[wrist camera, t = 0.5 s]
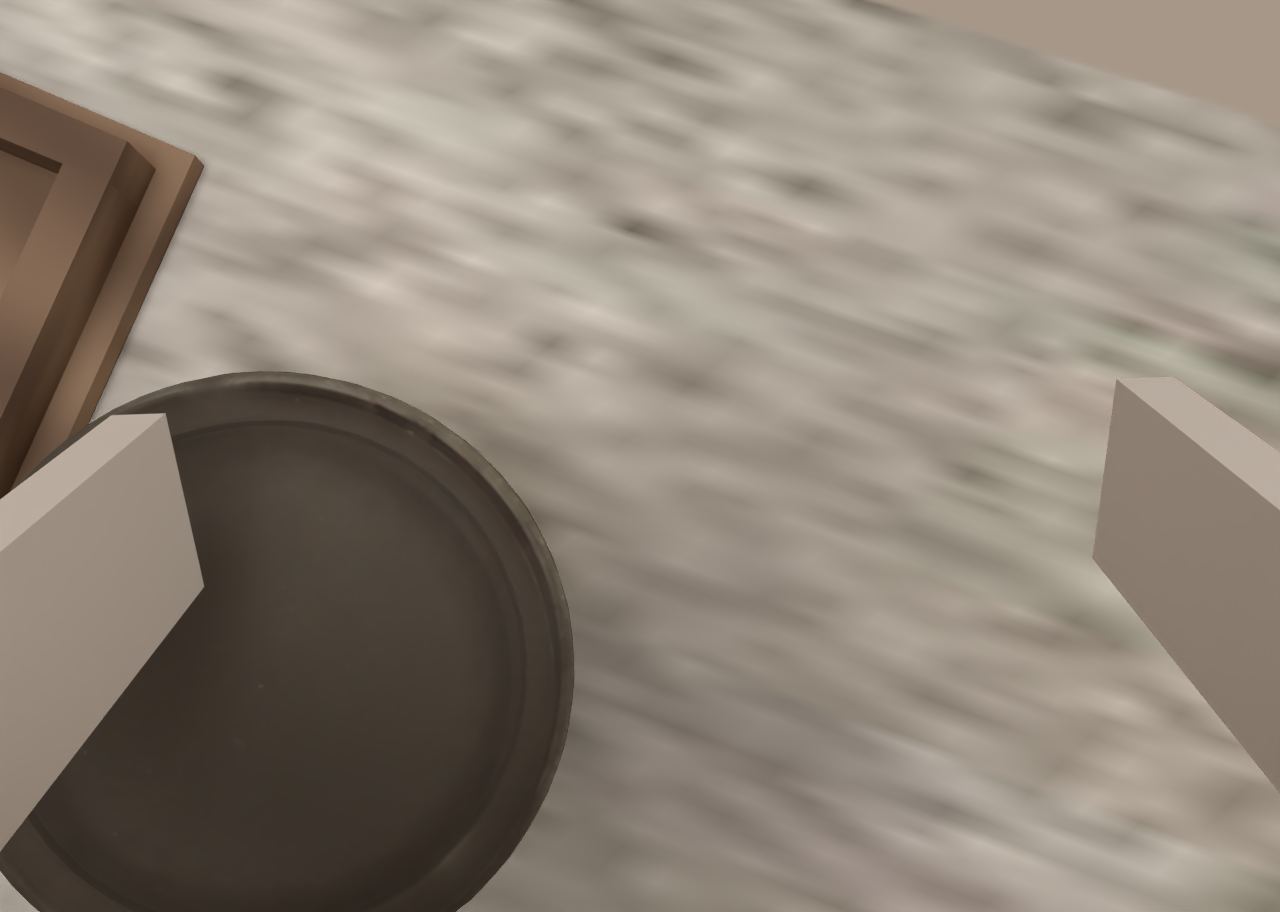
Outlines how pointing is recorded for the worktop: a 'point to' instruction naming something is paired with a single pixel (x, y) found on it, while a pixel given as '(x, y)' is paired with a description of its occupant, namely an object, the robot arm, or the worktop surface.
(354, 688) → the coffee can
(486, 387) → the worktop surface
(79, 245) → the can holder
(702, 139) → the worktop surface
